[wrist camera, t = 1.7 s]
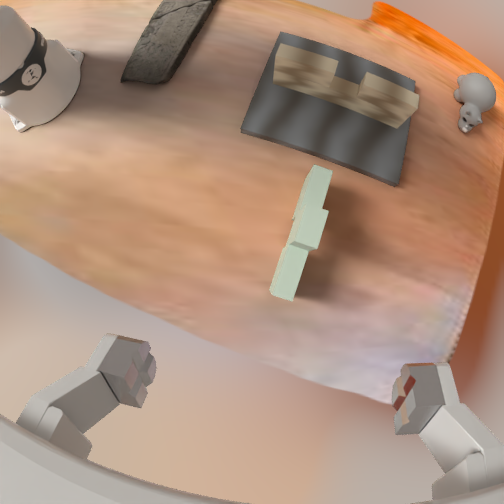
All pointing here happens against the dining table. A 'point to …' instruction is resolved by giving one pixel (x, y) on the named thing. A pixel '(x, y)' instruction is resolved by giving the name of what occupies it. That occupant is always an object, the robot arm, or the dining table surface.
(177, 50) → the stone slab
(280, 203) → the dining table surface
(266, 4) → the dining table surface
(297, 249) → the sage slotted plate
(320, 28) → the dining table surface
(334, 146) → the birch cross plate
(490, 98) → the chubby cartoon animal
